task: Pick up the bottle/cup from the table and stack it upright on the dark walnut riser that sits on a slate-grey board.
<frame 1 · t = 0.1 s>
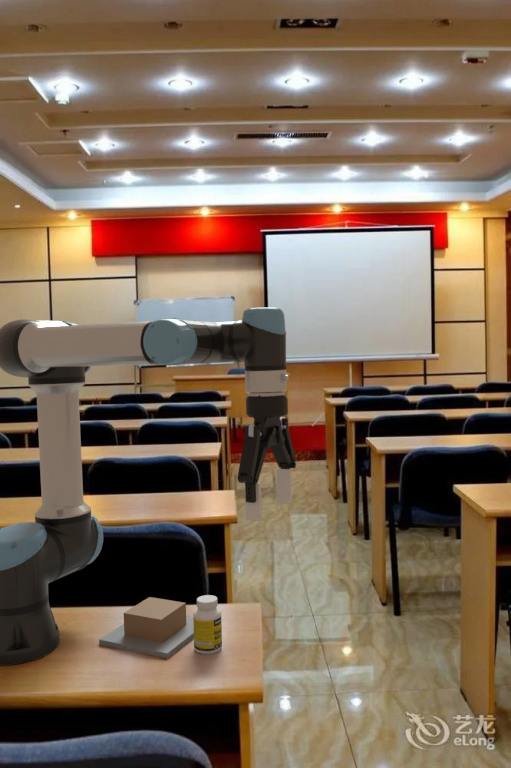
hand: (270, 511, 115), 28 cm above the table, fingers open, 13 cm apart
supplement bottle: (208, 649, 123), on the table
base: (156, 634, 130), on the table
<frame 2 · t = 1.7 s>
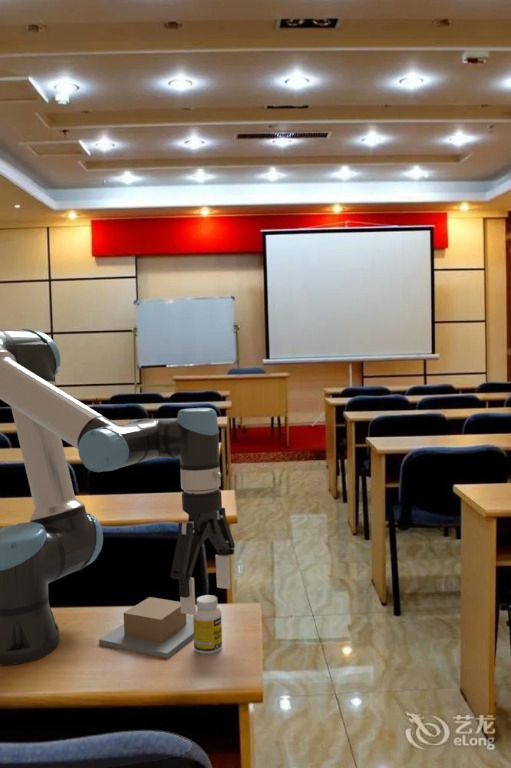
hand: (206, 599, 122), 10 cm above the table, fingers open, 13 cm apart
nothing on the table moved.
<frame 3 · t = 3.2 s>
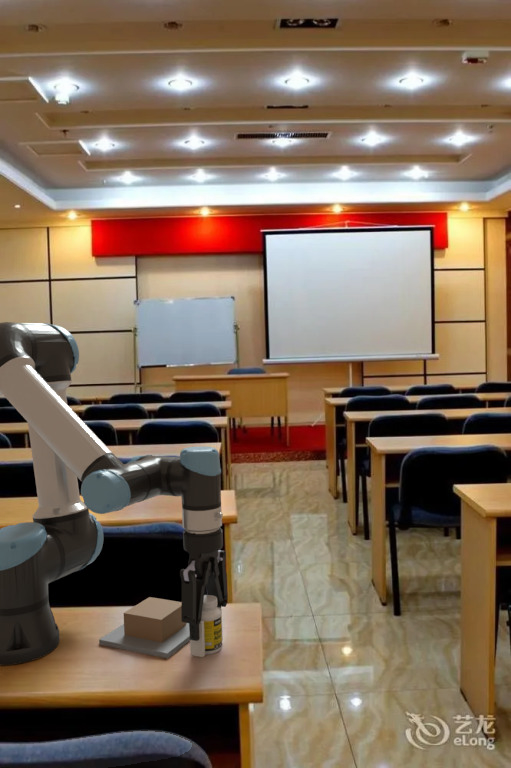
hand: (206, 647, 122), 0 cm above the table, fingers open, 6 cm apart
supplement bottle: (208, 649, 123), on the table, touching gripper
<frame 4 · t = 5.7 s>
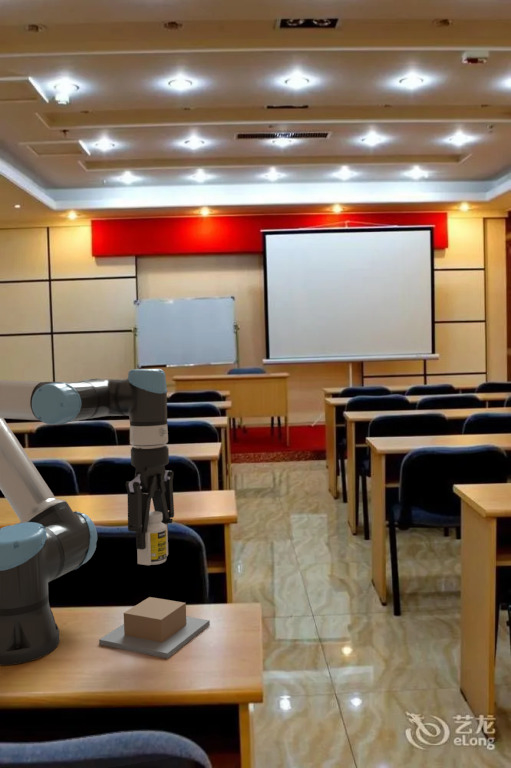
hand: (153, 559, 129), 16 cm above the table, fingers closed on supplement bottle, 5 cm apart
supplement bottle: (153, 562, 129), point 15 cm above the table, touching gripper
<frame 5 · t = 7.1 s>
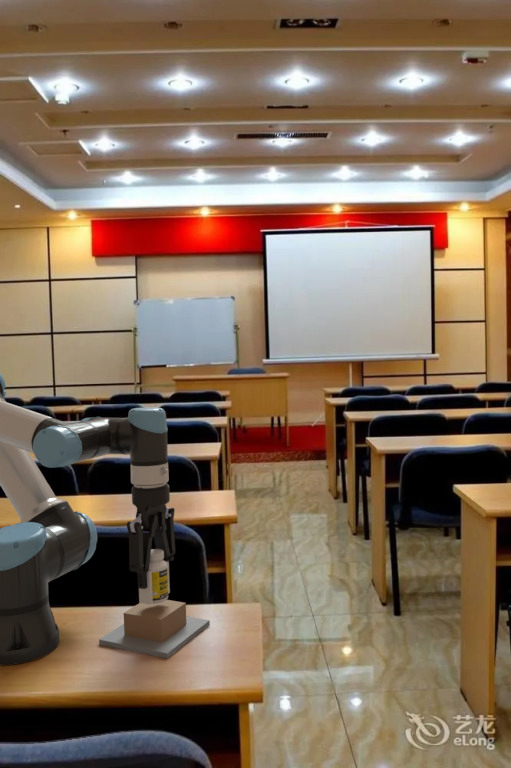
hand: (154, 597, 129), 8 cm above the table, fingers closed on supplement bottle, 5 cm apart
supplement bottle: (155, 600, 129), point 7 cm above the table, touching gripper
when the fingers open (7 cm above the table, at t = 7.9 s): supplement bottle drops 1 cm, resting on base.
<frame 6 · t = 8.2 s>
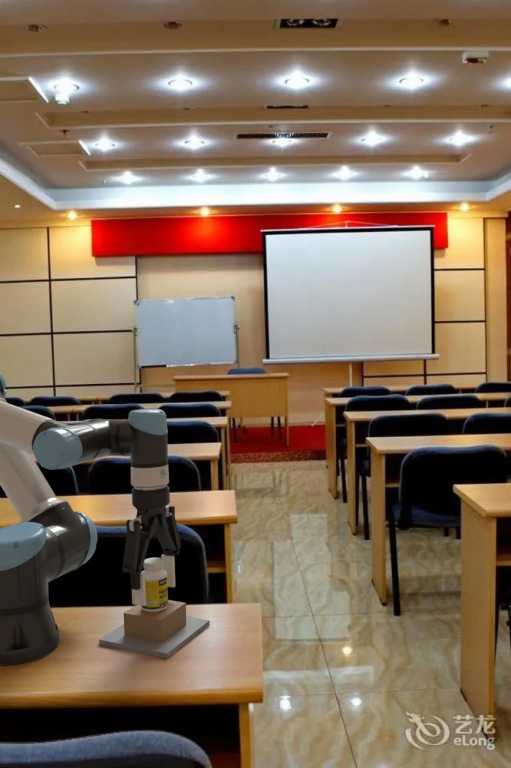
hand: (154, 594, 129), 8 cm above the table, fingers open, 10 cm apart
supplement bottle: (155, 608, 129), point 5 cm above the table, touching base
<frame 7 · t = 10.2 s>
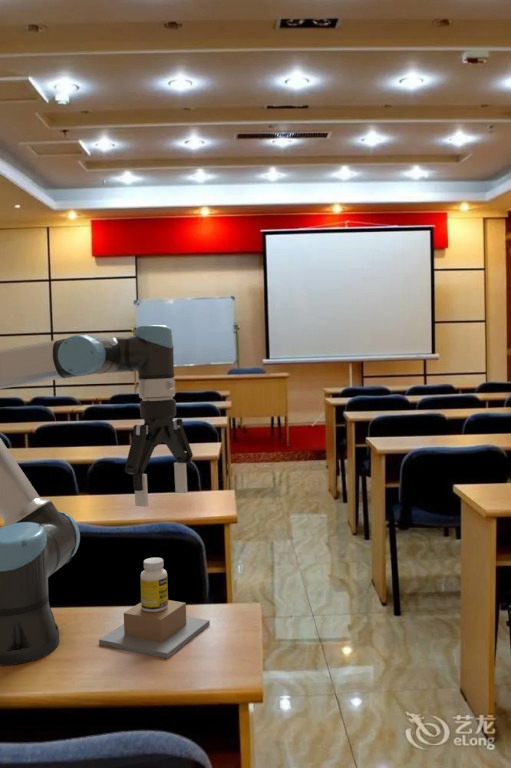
hand: (162, 498, 135), 26 cm above the table, fingers open, 13 cm apart
nothing on the table moved.
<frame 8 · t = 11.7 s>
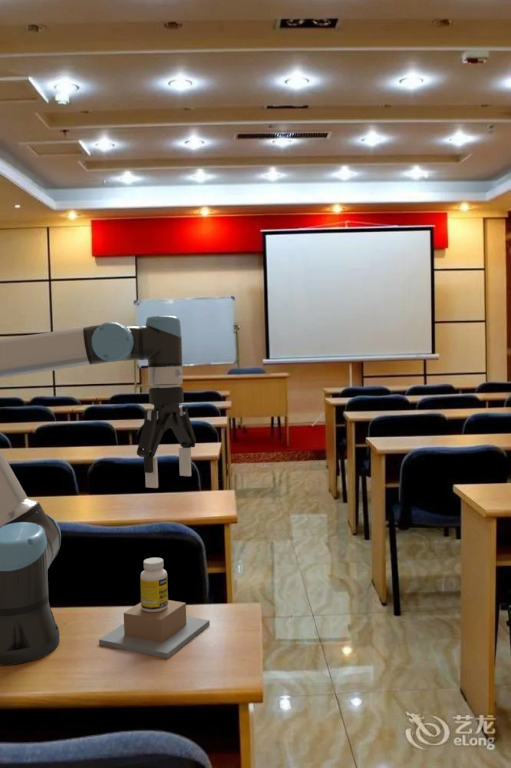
hand: (169, 481, 142), 29 cm above the table, fingers open, 13 cm apart
nothing on the table moved.
at the end: supplement bottle inside the target area on the base (0.1 cm from its centre), point 5.3 cm above the base's base; supplement bottle tilted 0°; the gripper is holding nothing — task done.
